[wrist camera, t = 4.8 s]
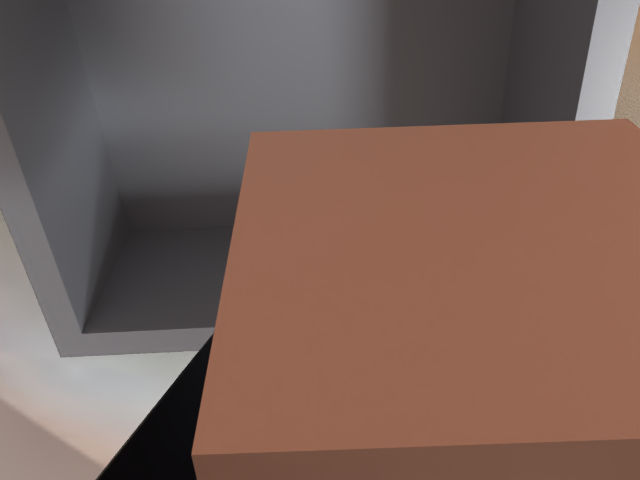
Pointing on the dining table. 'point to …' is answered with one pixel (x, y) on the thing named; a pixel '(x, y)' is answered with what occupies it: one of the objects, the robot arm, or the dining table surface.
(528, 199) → the terracotta cube
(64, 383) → the dining table surface
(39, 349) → the dining table surface
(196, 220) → the tote
